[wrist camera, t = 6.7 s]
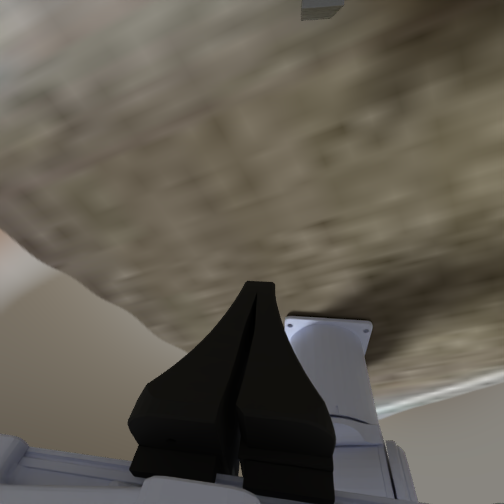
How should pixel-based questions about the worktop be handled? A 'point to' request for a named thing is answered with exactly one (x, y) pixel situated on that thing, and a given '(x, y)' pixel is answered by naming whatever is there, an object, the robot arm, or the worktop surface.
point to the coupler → (320, 9)
